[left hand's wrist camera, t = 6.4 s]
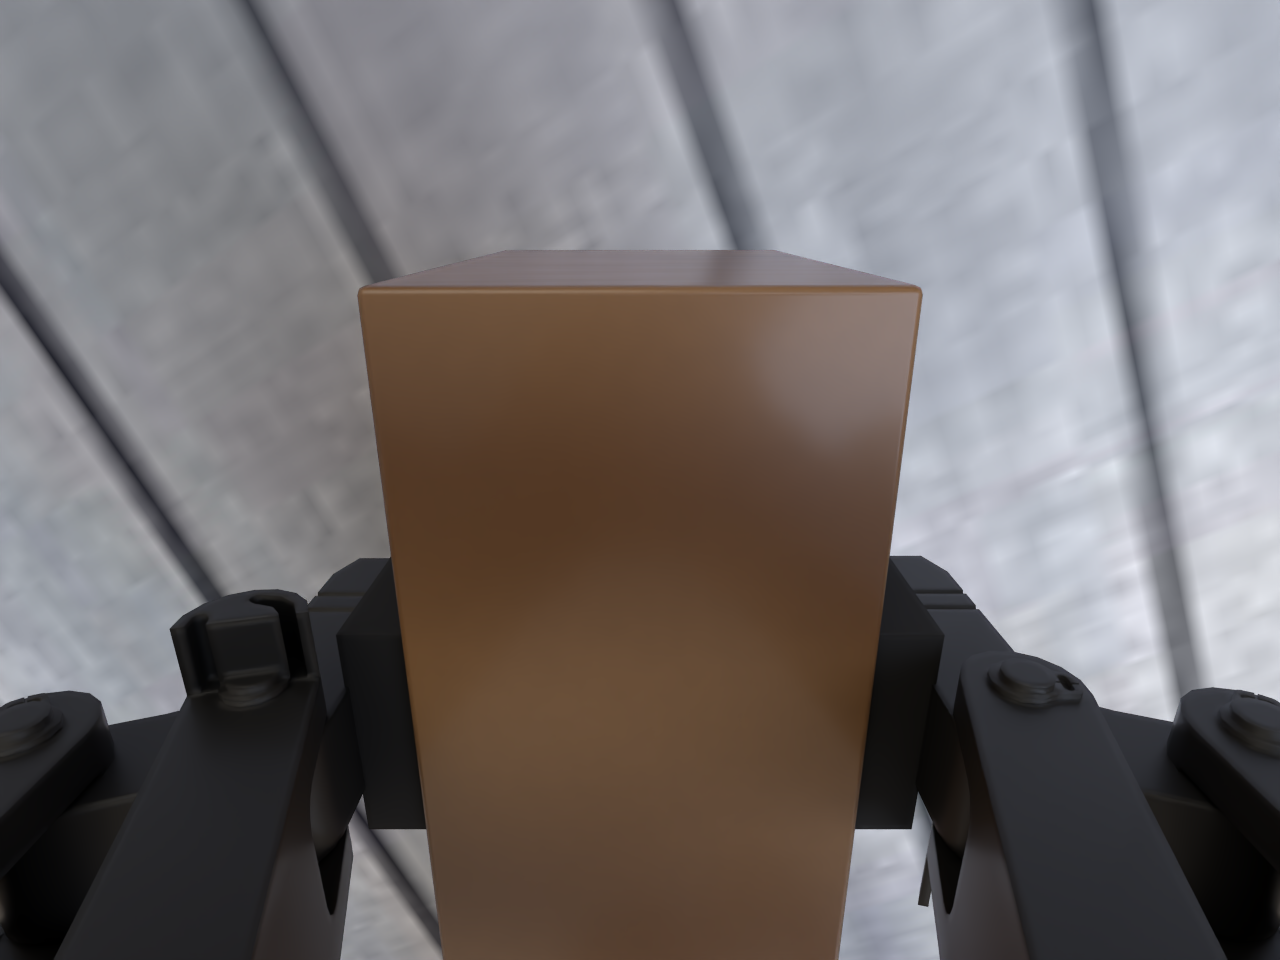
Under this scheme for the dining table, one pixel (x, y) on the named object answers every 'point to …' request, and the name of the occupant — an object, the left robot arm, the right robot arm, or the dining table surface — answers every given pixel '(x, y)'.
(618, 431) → the bar
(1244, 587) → the dining table surface
